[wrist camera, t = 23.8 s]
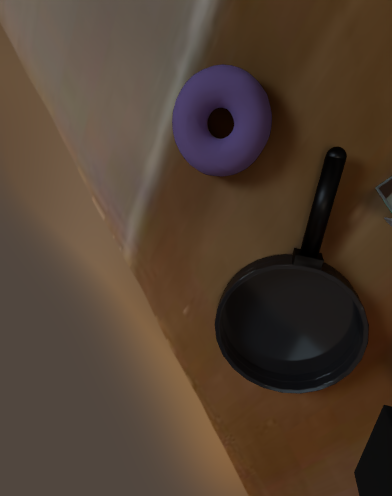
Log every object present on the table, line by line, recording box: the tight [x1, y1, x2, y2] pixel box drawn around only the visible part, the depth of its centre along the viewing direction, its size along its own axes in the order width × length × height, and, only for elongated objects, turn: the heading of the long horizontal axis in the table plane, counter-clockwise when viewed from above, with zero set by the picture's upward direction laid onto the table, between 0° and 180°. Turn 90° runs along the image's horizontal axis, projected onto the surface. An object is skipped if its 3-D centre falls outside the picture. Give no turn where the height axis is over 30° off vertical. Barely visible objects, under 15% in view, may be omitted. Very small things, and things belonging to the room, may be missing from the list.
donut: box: [172, 65, 272, 176], centre depth 34 cm, size 10×9×5 cm
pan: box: [215, 254, 369, 393], centre depth 40 cm, size 16×16×3 cm
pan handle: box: [292, 147, 347, 271], centre depth 34 cm, size 12×3×2 cm, turn 171°
